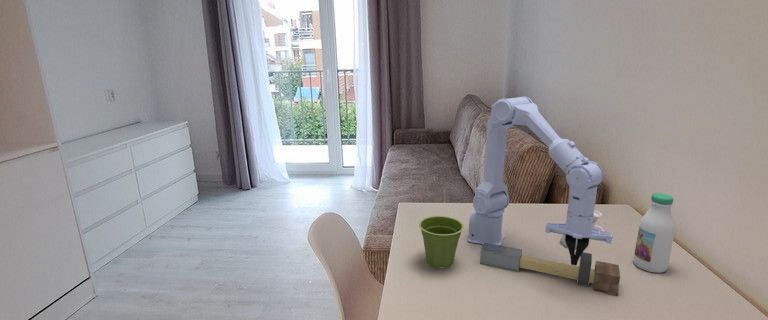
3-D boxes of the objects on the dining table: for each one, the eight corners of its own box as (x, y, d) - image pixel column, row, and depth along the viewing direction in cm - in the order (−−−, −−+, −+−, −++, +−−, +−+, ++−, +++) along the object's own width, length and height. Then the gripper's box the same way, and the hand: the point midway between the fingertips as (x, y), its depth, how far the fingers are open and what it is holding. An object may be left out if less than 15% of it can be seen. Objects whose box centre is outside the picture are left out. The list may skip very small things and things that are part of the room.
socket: (593, 290, 99) (596, 272, 97) (593, 278, 104) (595, 260, 103) (617, 295, 97) (620, 277, 95) (615, 283, 102) (618, 264, 100)
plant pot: (413, 269, 109) (413, 230, 106) (424, 249, 119) (425, 213, 116) (457, 277, 105) (459, 237, 102) (465, 256, 115) (467, 219, 112)
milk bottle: (662, 261, 112) (675, 192, 106) (671, 276, 105) (686, 202, 99) (630, 257, 114) (641, 189, 109) (636, 271, 107) (649, 199, 102)
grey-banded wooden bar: (513, 270, 107) (515, 247, 105) (516, 262, 111) (518, 240, 109) (602, 289, 99) (605, 264, 97) (601, 280, 102) (605, 256, 101)
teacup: (607, 228, 133) (610, 210, 131) (602, 242, 123) (605, 223, 121) (567, 219, 139) (569, 202, 137) (560, 232, 129) (562, 214, 128)
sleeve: (479, 264, 111) (480, 249, 110) (483, 256, 115) (484, 242, 114) (518, 272, 107) (519, 257, 106) (520, 264, 111) (522, 249, 109)
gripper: (546, 213, 98) (541, 264, 102) (615, 224, 92) (607, 277, 96) (549, 203, 104) (544, 251, 108) (614, 212, 98) (606, 263, 102)
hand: (573, 263), depth 102 cm, fingers closed
